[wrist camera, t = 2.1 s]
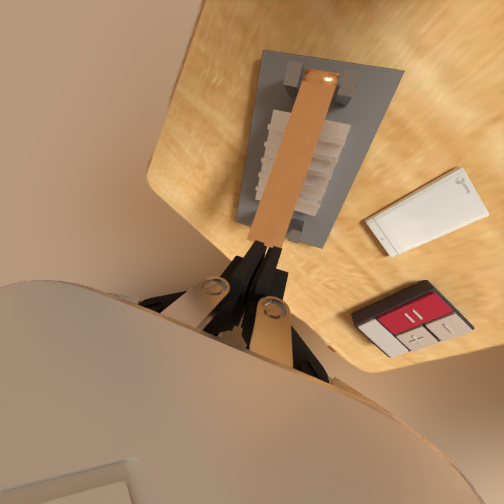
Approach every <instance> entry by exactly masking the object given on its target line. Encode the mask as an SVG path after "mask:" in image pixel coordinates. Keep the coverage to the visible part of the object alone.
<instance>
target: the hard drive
mask: <svg viewBox="0 0 504 504" xmlns="http://www.w3.org/2000/svg"><path fill="white" fill-rule="evenodd" d="M487 216H489V213H488V211H487V209H486V208H485V206H484V204H483V202H482V200H481V199H480V197H479V195H478V193H477V192H476V190H475V188H474V186H473V185H472V183H471V181H470V179H469V177H468V176H467V174H466V172H465V170H464V169H463V168H462V167H459V166H458V167H456V168H455V169H453V170H451V171H449V172H448V173H446V174H444V175H442V176H441V177H439V178H437V179H435V180H434V181H432V182H430V183H428V184H427V185H425V186H423V187H421V188H420V189H418V190H416V191H414V192H413V193H411V194H409V195H407V196H406V197H404V198H402V199H401V200H399V201H397V202H395V203H394V204H392V205H390V206H388V207H387V208H385V209H383V210H381V211H380V212H378V213H376V214H375V215H373V216H371V217H369V218H368V219H366V220H364V221H365V222H366V224H367V225H368V227H369V228H370V229H371V231H372V232H373V234H374V235H375V236H376V238H377V239H378V241H379V242H380V243H381V245H382V246H383V248H384V249H385V250H386V252H387V253H388V255H389V256H390V257H391V258H392V257H395V256H397V255H399V254H402V253H404V252H406V251H408V250H410V249H413V248H415V247H417V246H420V245H422V244H424V243H427V242H429V241H431V240H434V239H436V238H438V237H441V236H443V235H445V234H448V233H450V232H452V231H454V230H457V229H459V228H461V227H464V226H466V225H468V224H471V223H473V222H475V221H477V220H480V219H482V218H484V217H487Z"/></svg>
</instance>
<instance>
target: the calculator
mask: <svg viewBox="0 0 504 504" xmlns="http://www.w3.org/2000/svg"><path fill="white" fill-rule="evenodd" d="M351 315H352V318H353V322H354V326H355V327H356V328H357V329H358V330H359V331H360V332H361V333H363V334H364V335H365V336H366V337H367V338H368V339H369V340H370V341H371V342H372V343H373V344H375V345H376V346H377V347H378V348H379V349H380V350H381V351H382V352H383V353H384V354H386V355H387V356H388V357H394V356H397V355H400V354H403V353H406V352H409V351H415V350H418V349H421V348H424V347H427V346H430V345H433V344H436V343H438V342H439V341H445V340H448V339H451V338H454V337H457V336H460V335H463V334H466V333H469V332H472V330H474V326H473V325H472V324H471V323H470V322H469V321H468V320H467V319H466V318H465V317H464V316H463V315H462V314H461V313H460V312H459V311H458V310H457V309H456V308H455V307H454V306H453V305H452V304H451V303H450V302H449V301H448V300H447V299H446V298H445V297H444V296H443V295H442V294H441V293H440V292H439V291H438V290H437V289H436V288H435V287H434V286H433V285H432V284H431V283H430V282H429V281H428V280H423V281H421V282H419V283H417V284H415V285H412V286H410V287H408V288H406V289H404V290H402V291H399V292H397V293H395V294H393V295H391V296H389V297H387V298H385V299H383V300H381V301H379V302H377V303H375V304H373V305H370V306H367V307H365V308H362V309H360V310H358V311H356V312H354V313H352V314H351Z"/></svg>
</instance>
